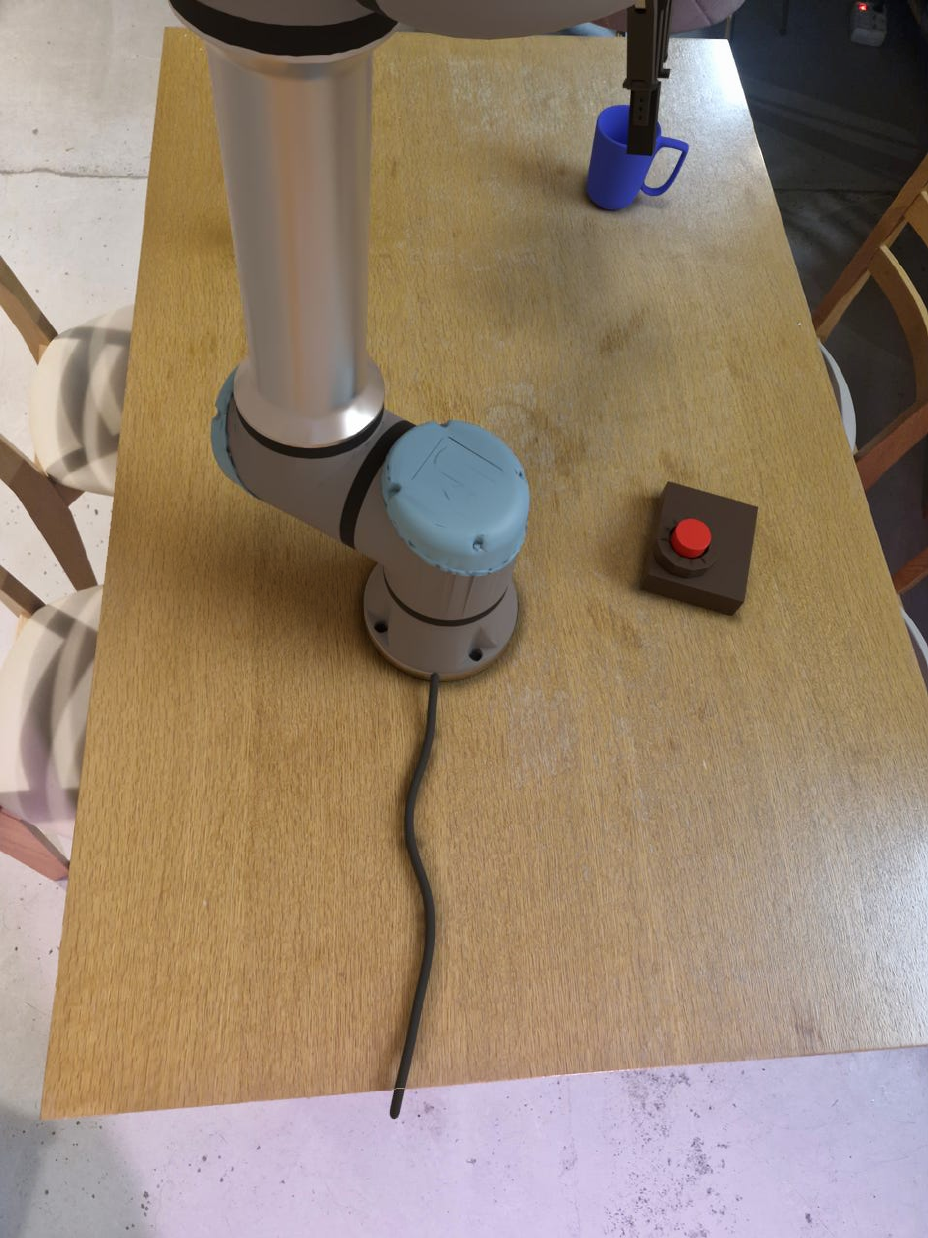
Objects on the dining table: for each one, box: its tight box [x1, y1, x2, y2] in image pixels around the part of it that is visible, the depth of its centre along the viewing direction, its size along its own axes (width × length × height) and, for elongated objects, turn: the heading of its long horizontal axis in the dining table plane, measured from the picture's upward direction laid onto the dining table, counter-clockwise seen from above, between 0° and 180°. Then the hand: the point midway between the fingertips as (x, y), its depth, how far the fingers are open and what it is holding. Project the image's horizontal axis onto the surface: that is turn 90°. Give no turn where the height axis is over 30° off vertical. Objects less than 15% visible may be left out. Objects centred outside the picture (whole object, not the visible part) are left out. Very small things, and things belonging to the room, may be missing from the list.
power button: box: [671, 519, 711, 558], centre depth 85 cm, size 4×4×2 cm
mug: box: [586, 104, 690, 211], centre depth 110 cm, size 8×12×10 cm
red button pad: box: [639, 480, 759, 617], centre depth 89 cm, size 12×10×5 cm
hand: (640, 151), depth 89 cm, fingers closed
